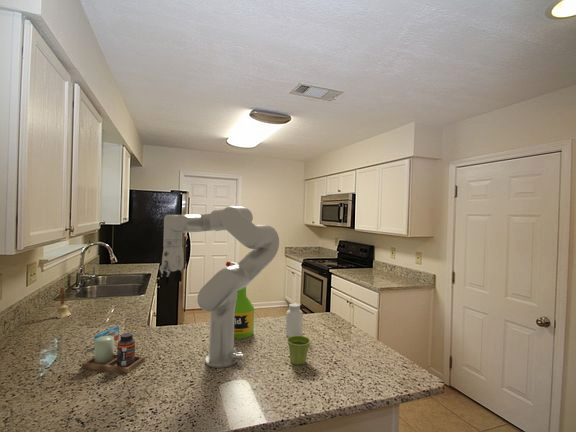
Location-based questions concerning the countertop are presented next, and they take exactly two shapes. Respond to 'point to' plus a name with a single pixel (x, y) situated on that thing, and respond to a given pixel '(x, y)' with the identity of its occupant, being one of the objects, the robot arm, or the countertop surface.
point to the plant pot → (298, 349)
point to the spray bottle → (243, 313)
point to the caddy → (113, 365)
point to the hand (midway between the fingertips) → (172, 283)
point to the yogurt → (110, 333)
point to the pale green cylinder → (103, 350)
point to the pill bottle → (294, 320)
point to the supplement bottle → (126, 350)
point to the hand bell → (62, 306)
